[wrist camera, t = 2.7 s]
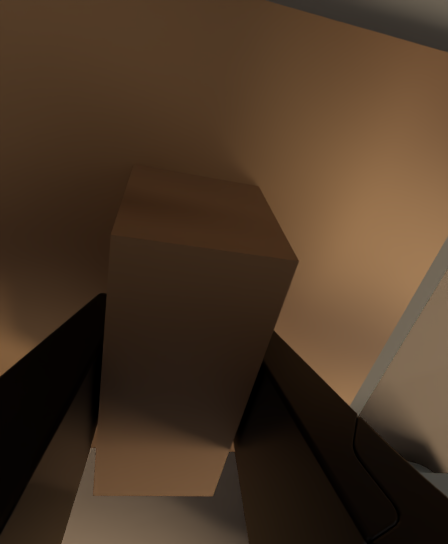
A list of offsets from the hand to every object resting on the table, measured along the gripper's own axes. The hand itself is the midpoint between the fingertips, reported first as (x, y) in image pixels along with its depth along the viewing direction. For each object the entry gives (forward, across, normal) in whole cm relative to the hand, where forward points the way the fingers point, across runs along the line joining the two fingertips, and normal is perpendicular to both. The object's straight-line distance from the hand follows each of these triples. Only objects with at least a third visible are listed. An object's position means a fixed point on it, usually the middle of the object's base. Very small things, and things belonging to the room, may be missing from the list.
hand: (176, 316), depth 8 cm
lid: (+2, 0, 0) cm, 2 cm away
